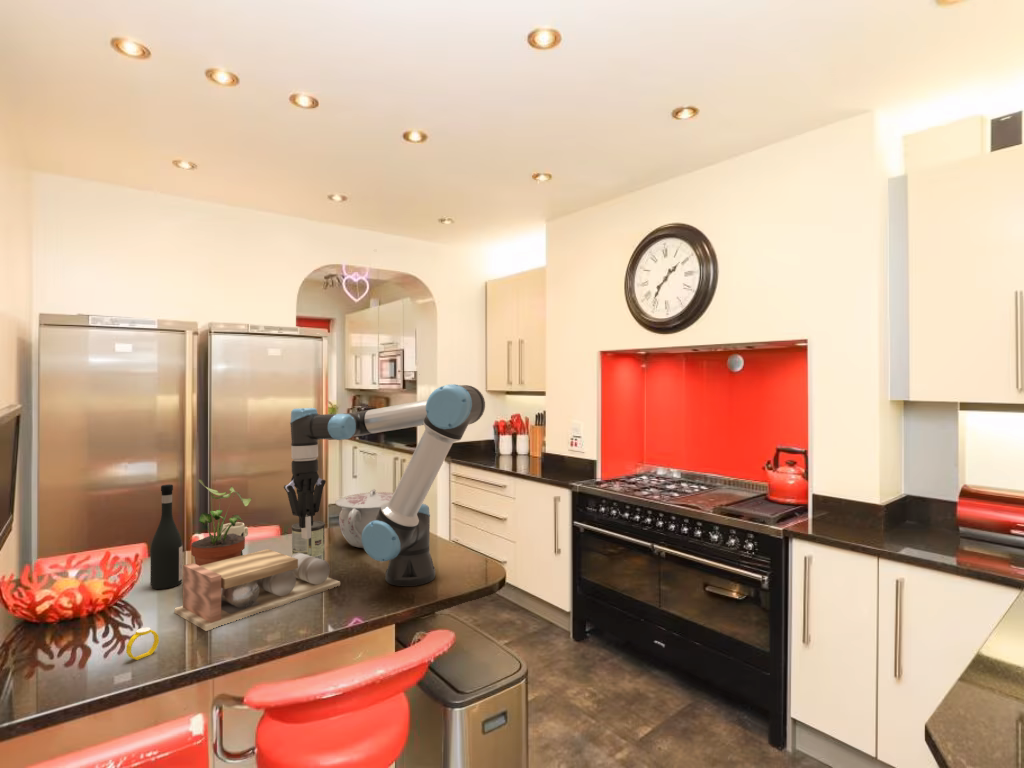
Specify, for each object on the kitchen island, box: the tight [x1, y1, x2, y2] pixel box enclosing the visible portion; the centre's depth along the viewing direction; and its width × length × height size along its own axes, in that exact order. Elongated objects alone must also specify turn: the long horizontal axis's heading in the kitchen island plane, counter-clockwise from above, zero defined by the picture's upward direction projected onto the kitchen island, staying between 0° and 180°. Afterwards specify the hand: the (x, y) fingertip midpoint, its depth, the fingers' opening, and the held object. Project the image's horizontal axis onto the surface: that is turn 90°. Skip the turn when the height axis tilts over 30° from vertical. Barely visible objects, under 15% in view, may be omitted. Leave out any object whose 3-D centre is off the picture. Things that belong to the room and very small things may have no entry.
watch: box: [125, 627, 160, 661], centre depth 119 cm, size 6×3×6 cm, turn 151°
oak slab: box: [201, 548, 298, 589], centre depth 148 cm, size 16×20×2 cm
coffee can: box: [291, 520, 326, 561], centre depth 178 cm, size 10×10×14 cm
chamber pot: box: [334, 488, 394, 549], centre depth 205 cm, size 28×28×21 cm
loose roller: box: [221, 581, 259, 609], centre depth 145 cm, size 12×7×7 cm, turn 53°
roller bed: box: [174, 553, 341, 632], centre depth 151 cm, size 18×38×12 cm, turn 143°
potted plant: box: [190, 478, 252, 566], centre depth 162 cm, size 16×15×35 cm
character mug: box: [221, 521, 249, 556], centre depth 182 cm, size 11×7×13 cm, turn 151°
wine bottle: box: [149, 484, 183, 590], centre depth 162 cm, size 8×8×30 cm
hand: (306, 537), depth 162 cm, fingers closed
